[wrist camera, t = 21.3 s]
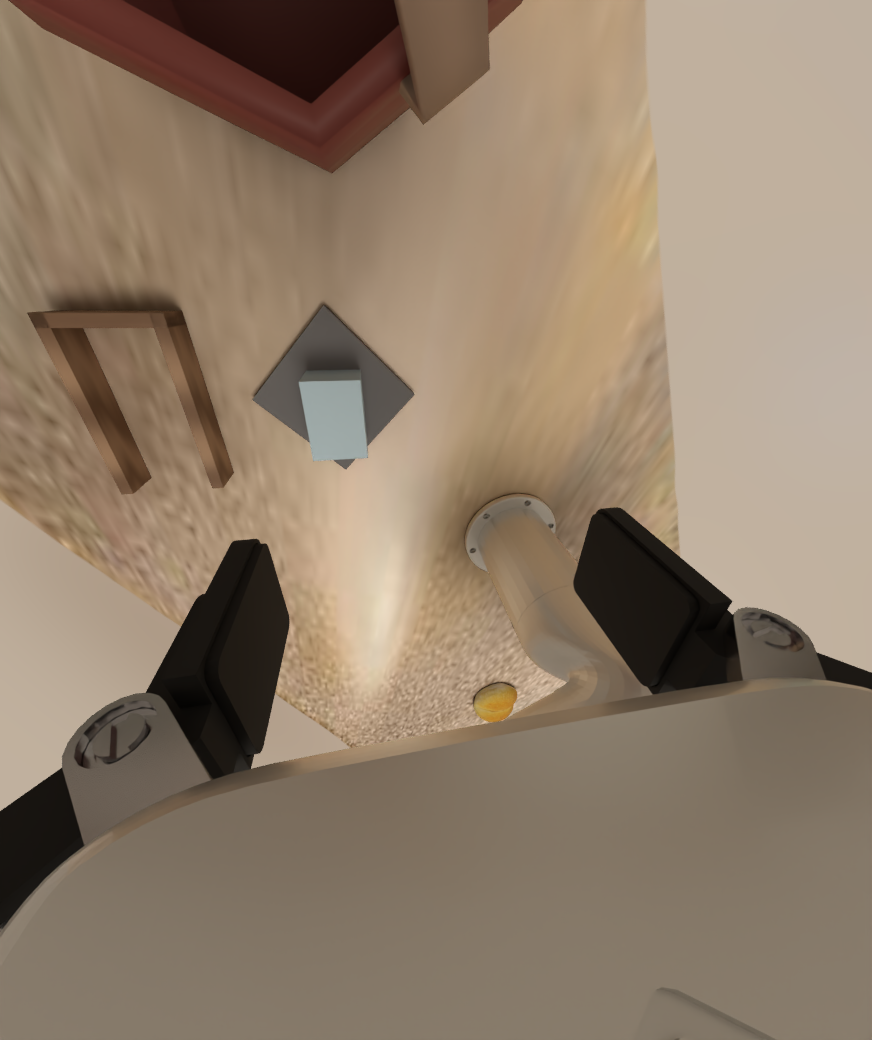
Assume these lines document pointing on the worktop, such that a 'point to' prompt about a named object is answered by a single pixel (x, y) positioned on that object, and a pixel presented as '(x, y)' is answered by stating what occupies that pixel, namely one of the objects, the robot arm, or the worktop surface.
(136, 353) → the worktop surface
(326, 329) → the mat
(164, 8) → the bucket
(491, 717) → the bread roll
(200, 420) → the shelf bay
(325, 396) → the block
